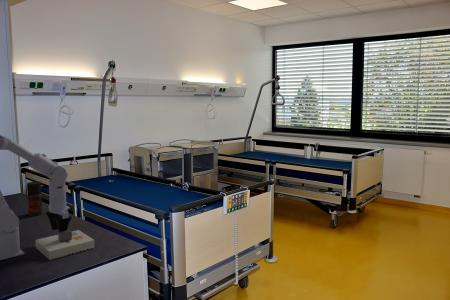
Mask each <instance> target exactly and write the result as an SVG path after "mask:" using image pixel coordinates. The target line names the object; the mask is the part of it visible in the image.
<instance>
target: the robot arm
mask: <svg viewBox="0 0 450 300" xmlns="http://www.w3.org/2000/svg"><path fill="white" fill-rule="evenodd" d="M0 151H9V152H11V153H13V154H15V156H16V155H17V157H20V158H22V159H24V160H25V161H27V163H28V167H29V168H32V169H33V170H35V171H36V172H37V173H40V174H41V175H43V176H46V177H47V178H48V195H49V200H48V201H49V204H48V210H49V211H46V212H45V214H46V216H47V218H48V220H49V223H50V227H51V230H52V231H56V230H58V232H61V231H66V230H68V227H69V225H70V221H71V220H72V218H73V217H72V216H71V215H70V213H69V211H68V210H70V206H68V205H67V186H66V179H67V178H68V174H69V173H68V172H67V170H66V169H65V168H64V167H63V166H61V165H59V164H58V162H57V161H53V160H52V159H50V158H48V157H47V155H46V154H45V153H40V152H37V153H32V152H31V151H29V150H28V149H27V148H25V147H23V146H22V145H21V144H19V143H18V142H16V141H14V140H12V139H11V138H9V137H6V136H4V135H3V134H0ZM19 225H20V219H19V217H18V215H16V214H15V213H14V211H13V209H11V208H10V206H9V204H8V203H7V201H6V199H5V196H4V194H3V192H2V191H1V189H0V261H2V260H6V259H9V258H14V257H19V256H22V255H25V252H24V251H23V250H22V249H21V244H20V226H19Z"/></svg>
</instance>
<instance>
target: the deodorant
mask: <svg viewBox="0 0 450 300" xmlns="http://www.w3.org/2000/svg"><path fill="white" fill-rule="evenodd" d="M26 193H27V196H26V197H27V214H28V216H30V217H36V216H42V215H43V199H42V198H43V197H42V181H29V182H27V183H26Z"/></svg>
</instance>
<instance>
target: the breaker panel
mask: <svg viewBox="0 0 450 300" xmlns="http://www.w3.org/2000/svg"><path fill="white" fill-rule="evenodd" d="M71 231H72V230H71ZM94 247H95V239H93V238H92V237H90V236H89V235H88V234H86V233H84V232H82V231H81V230H80V229H76V230H73V231H72V239H71V240H67V241H63V242H60V241H59V240H58V234H56V235H51V236H50V235H49V236H47V237H46V236H45V237H42V238H37V239H35V249H37V250H38V251H39V252H40V253H41V254H42V255H44V256H45V258H46V259H48V260H49V261H51V260H54V259H58V258H59V259H60V258H62V257H66V256H69V254H70V255H73V254H77V253H80V251H81V252H83V251H84V250H85V251H88V250H91V248H92V249H95V248H94ZM87 249H88V250H87ZM85 251H84V252H85ZM76 252H77V253H76ZM72 253H73V254H72Z"/></svg>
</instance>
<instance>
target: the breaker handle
mask: <svg viewBox="0 0 450 300" xmlns="http://www.w3.org/2000/svg"><path fill="white" fill-rule="evenodd" d="M57 235H58V240H59V241H60V242H63V241H67V240H71V239H72V230H70V229H67V230H66V231H61V232H59V231H58V233H57Z"/></svg>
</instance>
